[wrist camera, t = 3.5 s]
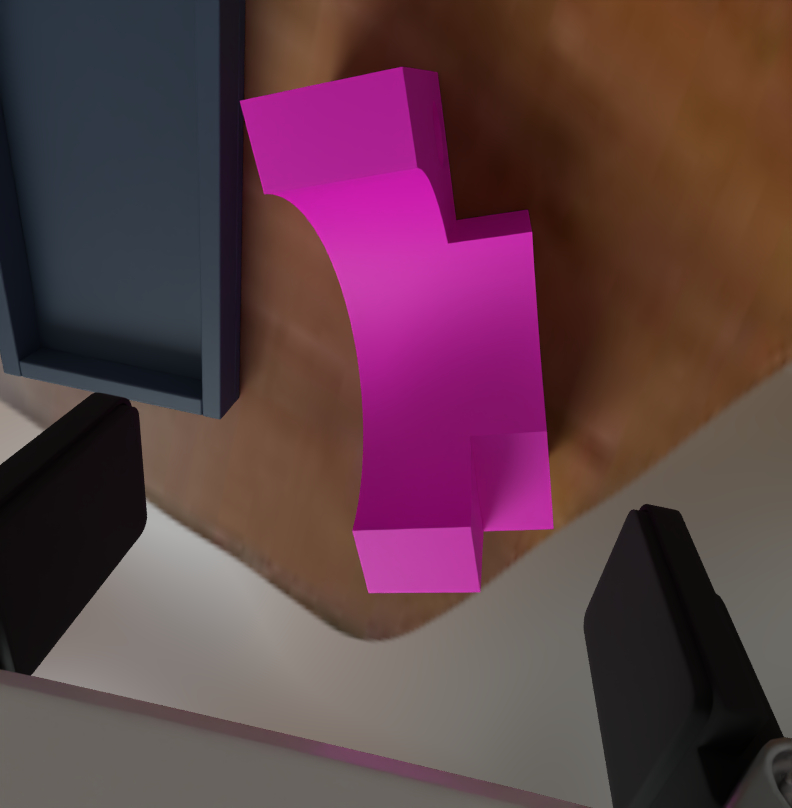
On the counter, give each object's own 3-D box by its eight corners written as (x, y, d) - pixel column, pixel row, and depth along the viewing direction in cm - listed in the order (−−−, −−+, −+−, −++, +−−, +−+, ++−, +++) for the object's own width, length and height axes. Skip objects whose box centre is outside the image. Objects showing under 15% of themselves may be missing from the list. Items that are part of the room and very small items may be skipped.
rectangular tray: (249, -164, 17) (219, -192, 15) (239, 397, 26) (220, 420, 24) (-61, -208, 18) (-123, -239, 16) (36, 354, 27) (3, 373, 25)
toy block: (545, 459, 25) (560, 591, 19) (402, 467, 26) (368, 593, 20) (516, 55, 18) (523, 41, 12) (326, 95, 20) (239, 100, 13)
